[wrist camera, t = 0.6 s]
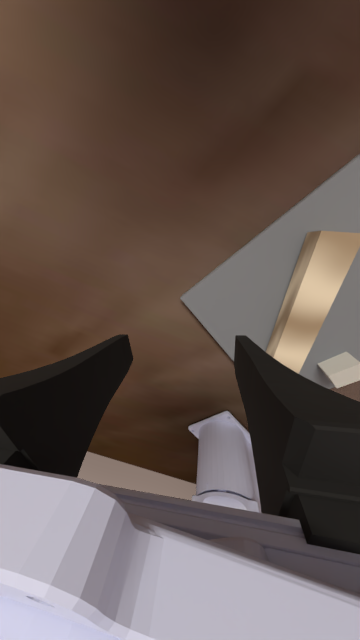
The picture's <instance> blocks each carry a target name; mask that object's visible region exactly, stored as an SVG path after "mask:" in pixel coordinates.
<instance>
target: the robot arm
mask: <svg viewBox="0 0 360 640" xmlns="http://www.w3.org/2000/svg"><path fill="white" fill-rule="evenodd" d="M132 361H133V356H132V351H131V347H130V343H129V338H128V335H117V336H115V337H112V338H110V339H108V340H106V341H104V342H102V343H100V344H98V345H96V346H94V347H91V348H89V349H87V350H85V351H83V352H81V353H78V354H76V355H74V356H72V357H69V358H67V359H64V360H61V361H59V362H56V363H53V364H50V365H47V366H44V367H41V368H38V369H34V370H31V371H27V372H24V373H20V374H16V375H12V376H8V377H4V378H0V640H360V402H358V401H356V400H353V399H351V398H348V397H346V396H344V395H341V394H339V393H337V392H334V391H332V390H330V389H328V388H325V387H323V386H321V385H319V384H317V383H315V382H313V381H311V380H309V379H307V378H305V377H303V376H302V375H300V374H298V373H296V372H295V371H293V370H291V369H290V368H288V367H286V366H285V365H283V364H282V363H280V362H279V361H277V360H276V359H274V358H273V357H272V356H270V355H269V354H268V353H266V352H265V351H264V350H263V349H261V348H260V347H259V346H258V345H257V344H255V343H254V342H253V341H252V340H251V339H250V338H248V337H247V336H246V335H236V336H235V353H234V367H235V374H236V379H237V382H238V386H239V390H240V393H241V397H242V401H243V404H244V408H245V412H246V416H247V421H248V427H249V432H250V433H249V432H248V431H247V430H246V429H245V428H244V427H243V426H242V425H241V424H240V423H239V422H238V421H237V420H236V419H235V418H234V416H233V415H232V414H231V413H230V412H228V411H224V412H222V413H220V414H217V415H215V416H212V417H210V418H207V419H205V420H202V421H200V422H197V423H195V424H192V425H190V426H189V427H188V429H189V430H190V431H191V432H192V433H193V434H194V435H195V436H196V437H197V438H198V439H199V447H198V467H197V486H196V495H193V496H192V501H191V500H185V499H180V498H174V497H168V496H163V495H157V494H152V493H145V492H140V491H135V490H129V489H123V488H117V487H112V486H106V485H101V484H96V483H93V482H89V481H86V480H83V479H80V478H77V476H78V473H79V470H80V468H81V465H82V462H83V460H84V457H85V455H86V452H87V450H88V447H89V445H90V442H91V440H92V438H93V435H94V433H95V431H96V429H97V426H98V424H99V422H100V420H101V418H102V416H103V414H104V412H105V410H106V407H107V406H108V404H109V402H110V400H111V399H112V397H113V395H114V394H115V392H116V390H117V389H118V387H119V386H120V384H121V382H122V381H123V379H124V377H125V376H126V374H127V372H128V370H129V368H130V366H131V363H132Z"/></svg>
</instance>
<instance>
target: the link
mask: <svg viewBox="0 0 360 640" xmlns="http://www.w3.org/2000/svg"><path fill="white" fill-rule="evenodd" d="M359 247H360V233H349V232H334V231H314V232H307V235H306V238H305V241H304V244H303V246H302V249H301V252H300V255H299V258H298V261H297V264H296V267H295V269H294V272H293V275H292V278H291V281H290V284H289V287H288V289H287V292H286V295H285V298H284V301H283V304H282V307H281V310H280V312H279V315H278V318H277V321H276V324H275V327H274V330H273V332H272V335H271V338H270V341H269V344H268V347H267V350H266V353H268V354H269V355H270V356H272V357H273V358H274V359H276V360H277V361H279V362H280V363H282V364H283V365H285V366H286V367H288V368H290V369H291V370H293V371H295V372H296V373H298V374H299V372H300V370H301V368H302V366H303V364H304V362H305V360H306V357H307V355H308V353H309V351H310V349H311V347H312V345H313V343H314V341H315V339H316V337H317V335H318V332H319V330H320V328H321V326H322V324H323V322H324V320H325V318H326V316H327V314H328V312H329V310H330V308H331V305H332V303H333V301H334V299H335V297H336V295H337V293H338V291H339V289H340V287H341V285H342V283H343V280H344V278H345V276H346V274H347V272H348V270H349V268H350V266H351V264H352V262H353V260H354V258H355V255H356V253H357V251H358V249H359Z"/></svg>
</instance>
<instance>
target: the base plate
mask: <svg viewBox="0 0 360 640" xmlns="http://www.w3.org/2000/svg"><path fill="white" fill-rule="evenodd" d="M314 231H334V232H349V233H360V154H358V155H357V156H356V157H355V158H353V159H352V160H351V161H350V162H348V163H347V164H346V165H345V166H343V167H342V168H341V169H340V170H338V171H337V172H336V173H335V174H333V175H332V176H331V177H330V178H328V179H327V180H326V181H325V182H323V183H322V184H321V185H320V186H318V187H317V188H316V189H315V190H313V191H312V192H311V193H310V194H308V195H307V196H306V197H305V198H303V199H302V200H301V201H300V202H298V203H297V204H296V205H295V206H293V207H292V208H291V209H290V210H288V211H287V212H286V213H285V214H283V215H282V216H281V217H280V218H278V219H277V220H276V221H275V222H273V223H272V224H271V225H269V226H268V227H267V228H266V229H264V230H263V231H262V232H261V233H259V234H258V235H257V236H256V237H254V238H253V239H252V240H251V241H249V242H248V243H247V244H246V245H244V246H243V247H242V248H241V249H239V250H238V251H237V252H236V253H234V254H233V255H232V256H231V257H229V258H228V259H227V260H226V261H224V262H223V263H222V264H221V265H219V266H218V267H217V268H216V269H214V270H213V271H212V272H211V273H209V274H208V275H207V276H206V277H204V278H203V279H202V280H201V281H199V282H198V283H197V284H196V285H194V286H193V287H192V288H191V289H189V290H188V291H187V292H186V293H184V294H183V295H182V296H181V298H180V299H181V300H182V301H183V302H184V303H185V305H186V306H187V307H188V308H189V309H190V310H191V312H192V313H193V314H194V315H195V316H196V318H197V319H198V320H199V321H200V322H201V323H202V325H203V326H204V327H205V328H206V329H207V331H208V332H209V333H210V334H211V335H212V336H213V338H214V339H215V340H216V341H217V342H218V344H219V345H220V346H221V347H222V348H223V349H224V351H225V352H226V353H227V354H228V355H229V357H230V358H231V359H232V360H233V361H234V353H235V336H236V335H246V336H247V337H248V338H250V339H251V340H252V341H253V342H254V343H255V344H257V345H258V346H259V347H260V348H261V349H263V350H264V351H265V352H266V350H267V347H268V344H269V341H270V338H271V335H272V332H273V330H274V327H275V324H276V321H277V318H278V315H279V312H280V310H281V307H282V304H283V301H284V298H285V295H286V292H287V289H288V287H289V284H290V281H291V278H292V275H293V272H294V269H295V267H296V264H297V261H298V258H299V255H300V252H301V249H302V246H303V244H304V241H305V238H306V235H307V232H314ZM344 352H348V353H349V354H350V355H352V356H353V357H354V358H355V359H357V360H358V361H359V362H360V247H359V249H358V251H357V253H356V255H355V258H354V260H353V262H352V264H351V266H350V268H349V270H348V272H347V274H346V276H345V278H344V280H343V283H342V285H341V287H340V289H339V291H338V293H337V295H336V297H335V299H334V301H333V303H332V305H331V308H330V310H329V312H328V314H327V316H326V318H325V320H324V322H323V324H322V326H321V328H320V330H319V332H318V335H317V337H316V339H315V341H314V343H313V345H312V347H311V349H310V351H309V353H308V355H307V357H306V360H305V362H304V364H303V366H302V368H301V370H300V372H299V374H300V375H302V376H303V377H305V378H307V379H309V380H311V381H313V382H315V383H317V384H319V385H321V386H323V387H325V388H328V389H330V388H333V387H335V386H334V385H333V384H332V382H331V381H330V380H329V379H328V378H327V377H326V376H325V374H324V373H323V371H322V370H321V369H320V367H319V366H318V363H320V362H323V361H325V360H327V359H330V358H332V357H335V356H337V355H339V354H342V353H344Z"/></svg>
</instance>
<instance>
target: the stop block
mask: <svg viewBox="0 0 360 640" xmlns="http://www.w3.org/2000/svg"><path fill="white" fill-rule="evenodd" d="M318 366H319V367H320V369H321V370H322V371H323V373H324V374H325V376H326V377H327V378H328V379H329V380H330V381H331V382H332V384H333V385H334V386H335V387H336V388H339V387H342V386H345V385H348V384H350V383H353V382H356V381H359V380H360V362H359V361H358V360H357V359H355V358H354V357H353V356H352V355H350V354H349V353H348V352H344V353H342V354H339V355H337V356H335V357H332V358H330V359H327V360H325V361H323V362H320V363H318Z"/></svg>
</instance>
